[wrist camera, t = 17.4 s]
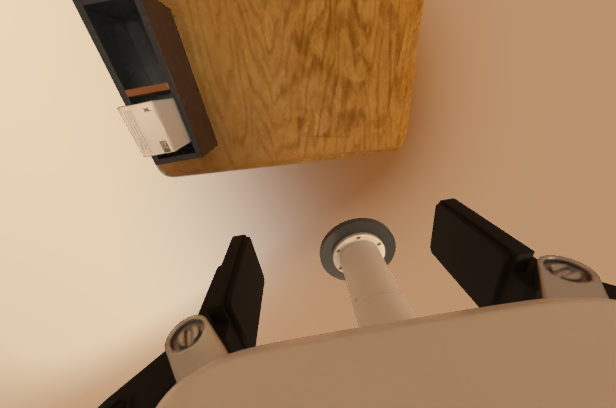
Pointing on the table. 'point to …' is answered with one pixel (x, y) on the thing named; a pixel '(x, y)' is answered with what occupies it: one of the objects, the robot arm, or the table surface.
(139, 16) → the caddy
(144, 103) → the cosmetic box
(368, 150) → the table surface
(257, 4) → the table surface
